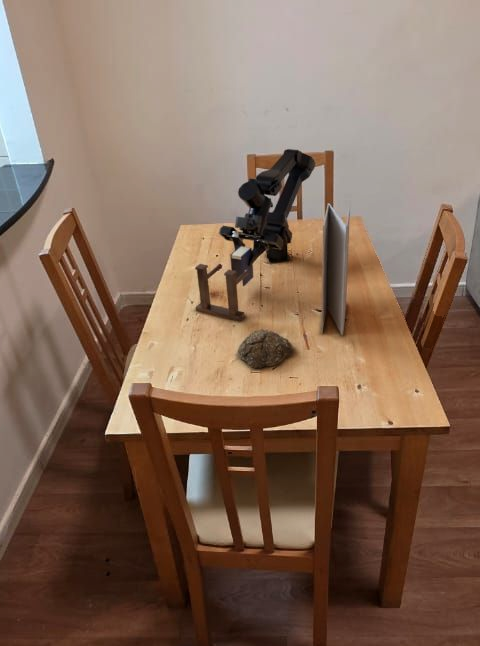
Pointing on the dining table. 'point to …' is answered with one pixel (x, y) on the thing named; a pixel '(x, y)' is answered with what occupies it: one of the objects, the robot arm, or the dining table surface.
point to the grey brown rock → (264, 349)
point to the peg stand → (231, 285)
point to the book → (242, 262)
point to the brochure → (335, 266)
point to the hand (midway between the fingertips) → (242, 264)
